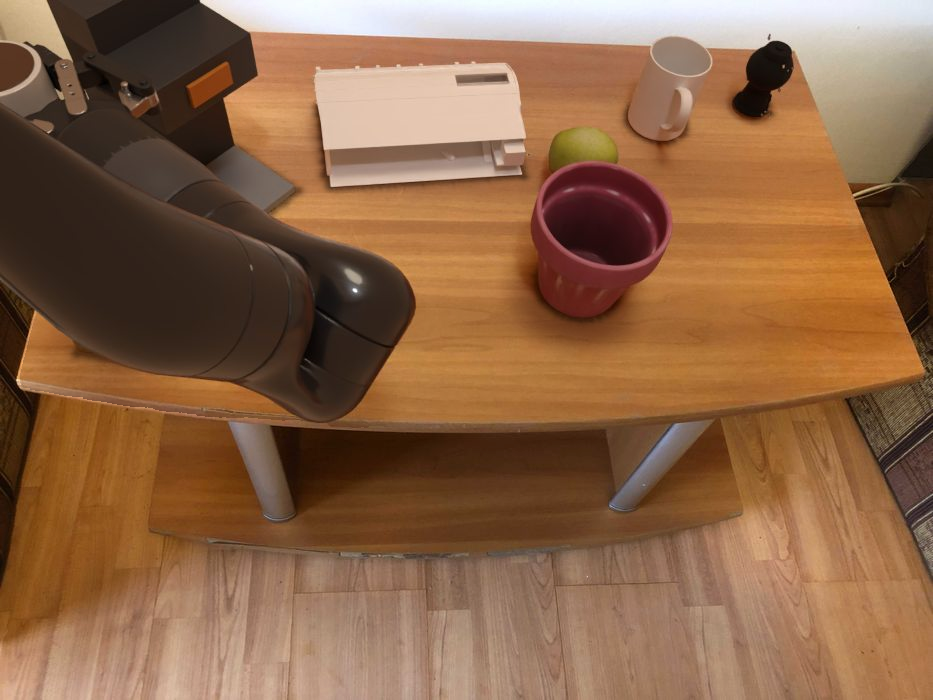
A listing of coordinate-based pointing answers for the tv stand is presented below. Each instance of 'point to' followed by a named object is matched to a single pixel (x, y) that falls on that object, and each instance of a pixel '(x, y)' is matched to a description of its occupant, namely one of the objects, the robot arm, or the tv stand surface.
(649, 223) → the flower pot
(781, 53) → the gumball machine
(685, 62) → the mug
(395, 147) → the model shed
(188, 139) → the coffee machine
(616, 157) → the apple
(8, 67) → the white cup
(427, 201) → the tv stand surface
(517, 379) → the tv stand surface
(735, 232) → the tv stand surface
